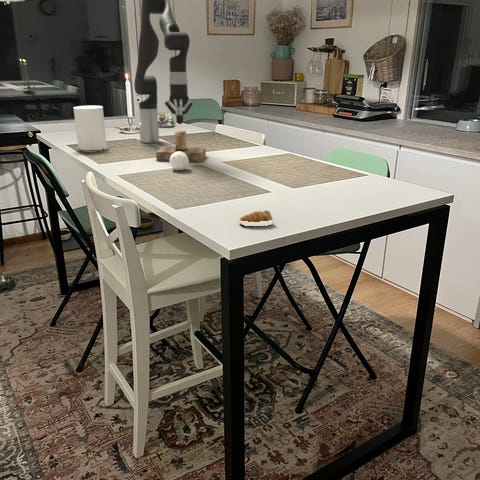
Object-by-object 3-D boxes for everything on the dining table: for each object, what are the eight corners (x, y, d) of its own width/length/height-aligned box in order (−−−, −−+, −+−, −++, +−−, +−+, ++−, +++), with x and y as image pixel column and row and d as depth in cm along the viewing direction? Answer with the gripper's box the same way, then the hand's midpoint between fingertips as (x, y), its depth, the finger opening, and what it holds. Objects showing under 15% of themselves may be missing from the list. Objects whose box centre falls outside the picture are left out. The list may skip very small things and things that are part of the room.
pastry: (243, 230, 137) (243, 217, 135) (236, 222, 143) (236, 210, 141) (274, 226, 140) (274, 213, 138) (266, 219, 146) (266, 207, 144)
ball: (181, 177, 201) (179, 165, 194) (167, 168, 203) (164, 155, 197) (193, 165, 204) (191, 153, 197) (179, 157, 206) (176, 144, 200)
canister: (99, 151, 235) (94, 109, 228) (73, 150, 238) (68, 108, 230) (111, 146, 247) (107, 105, 240) (86, 145, 250) (82, 105, 242)
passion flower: (162, 136, 306) (150, 121, 301) (165, 130, 315) (153, 115, 310) (176, 126, 302) (164, 110, 297) (178, 120, 312) (167, 105, 307)
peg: (176, 159, 220) (174, 132, 215) (178, 157, 224) (176, 131, 219) (184, 159, 219) (183, 132, 215) (186, 157, 223) (185, 131, 219)
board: (156, 160, 217) (155, 151, 215) (163, 155, 228) (163, 146, 227) (200, 162, 215) (200, 153, 213) (205, 156, 226) (205, 147, 224)
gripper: (161, 83, 206) (163, 124, 213) (191, 83, 205) (193, 125, 212) (165, 81, 213) (167, 122, 220) (195, 82, 212) (196, 122, 218)
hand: (180, 123), depth 216 cm, fingers closed
